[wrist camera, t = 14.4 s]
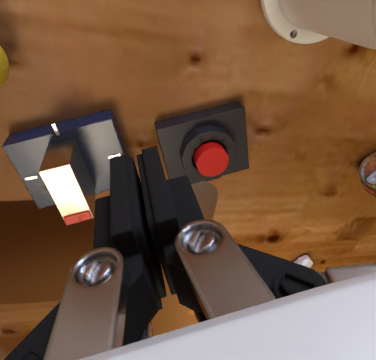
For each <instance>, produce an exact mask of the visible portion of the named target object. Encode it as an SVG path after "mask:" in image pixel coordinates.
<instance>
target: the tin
mask: <svg viewBox="0 0 376 360" xmlns="http://www.w3.org/2000/svg"><path fill="white" fill-rule="evenodd" d="M359 175H360V178H361V182H362V185H363V187H364V188H365V190H366V191H368V192H369V193H370V194H372V195H373V196H375V197H376V152H374V153H373V154H371V155H369V156H368V157H366V158H365V159H364V160H363V162H362V163H361V165H360V167H359Z"/></svg>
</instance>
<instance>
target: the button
mask: <svg viewBox="0 0 376 360" xmlns="http://www.w3.org/2000/svg"><path fill="white" fill-rule="evenodd" d="M194 162H195V164H196V167H197V169H198V171H199V172H200V173H201V174H202V175H204V176H209V177H212V176H216V175H219V174H220V173H222V172H223V171H224V170H225V169H226V167H227V165H228V162H229V157H228V154H227V153H226V151H225V150H224V148H223V147H222V145H221V144H219V143H217V142H213V141H210V142H206V143H203V144H201V145H200V146H199V147H198V148H197V149H196V151H195V153H194Z"/></svg>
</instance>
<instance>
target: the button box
mask: <svg viewBox="0 0 376 360" xmlns="http://www.w3.org/2000/svg"><path fill="white" fill-rule="evenodd" d="M155 127H156V131H157V135H158V139H159V143H160V147H161V150H162V154H163V158H164V162H165V166H166V170H167V174H168V178H169V179H173V178H176V177H180V176H184V175H187V177H188V179H189V181H190V184H193V183H196V182H200V181H210V180H213V179H217V178H220V177H221V176H223V175H226V174H229V173H233V172H237V171H240V170H244V169H248V168H249V163H248V150H247V137H246V123H245V110H244V107H243V106H242V105H241V104H240V103H239V102H234V103H230V104H226V105H223V106H219V107H215V108H211V109H207V110H203V111H199V112H195V113H191V114H187V115H183V116H179V117H175V118H172V119H168V120H164V121H160V122H156V123H155ZM210 141H213V142H217V143H219V144H221V145H222V147H223V148H224V150H225V151H226V153H227V154H228V157H229V162H228V165H227V167H226V169H225V170H224V171H223V172H222V173H220V174H219V175H216V176H212V177H209V176H204V175H202V174H201V173H200V172H199V171H198V169H197V167H196V164H195V162H194V153H195V151H196V149H197V148H198V147H199V146H200V145H201V144H203V143H206V142H210Z"/></svg>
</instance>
